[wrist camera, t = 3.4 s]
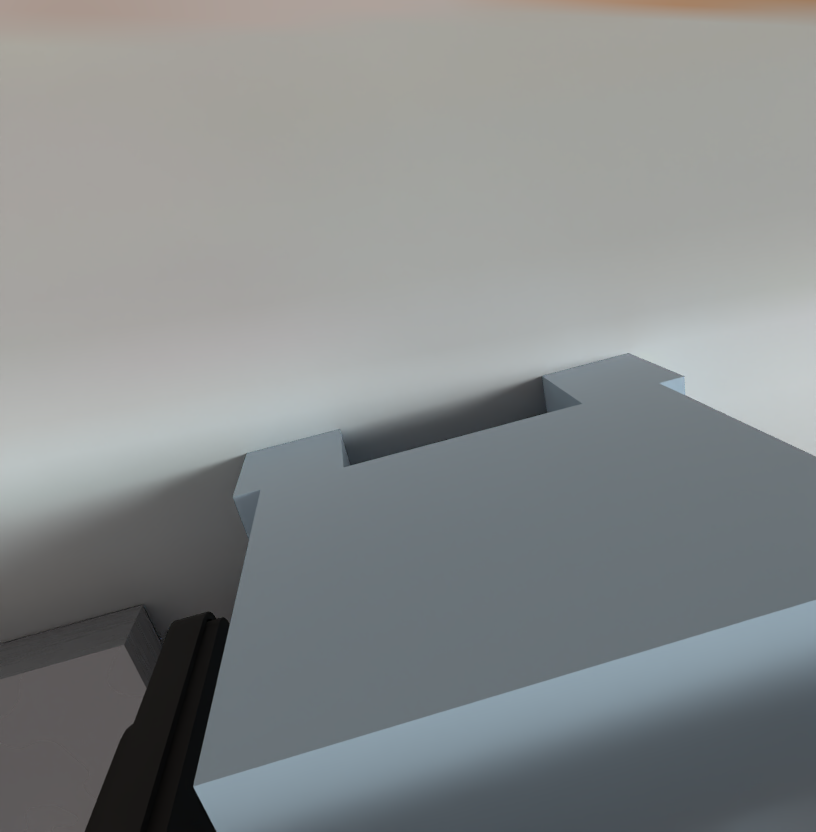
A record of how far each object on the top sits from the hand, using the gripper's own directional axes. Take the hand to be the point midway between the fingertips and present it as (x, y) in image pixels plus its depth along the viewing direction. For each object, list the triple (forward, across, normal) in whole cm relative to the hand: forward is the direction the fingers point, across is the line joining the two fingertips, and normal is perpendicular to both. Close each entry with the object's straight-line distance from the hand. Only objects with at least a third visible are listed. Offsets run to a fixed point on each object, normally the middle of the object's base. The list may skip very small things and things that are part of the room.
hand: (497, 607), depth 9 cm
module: (+2, 0, 0) cm, 2 cm away
